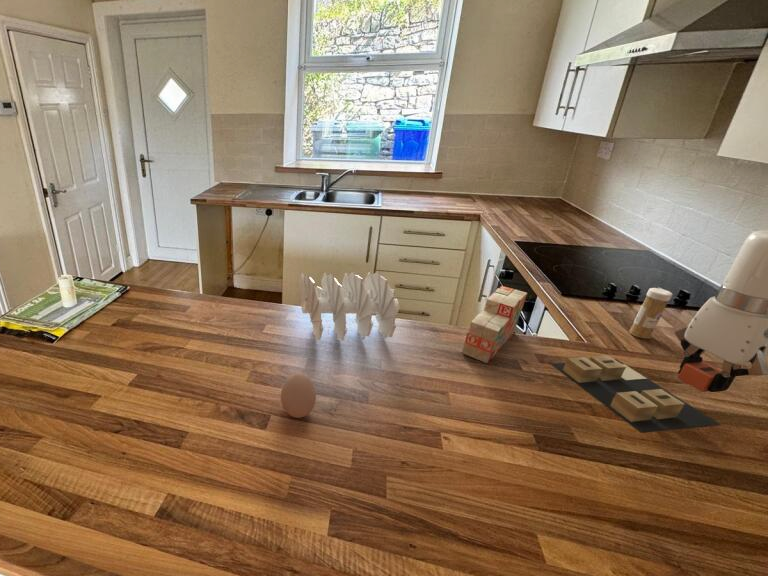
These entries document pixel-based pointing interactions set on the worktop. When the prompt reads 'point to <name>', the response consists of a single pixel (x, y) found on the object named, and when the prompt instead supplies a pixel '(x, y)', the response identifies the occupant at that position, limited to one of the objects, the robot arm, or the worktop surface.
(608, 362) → the word tiles
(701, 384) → the orange toy block
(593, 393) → the letter mat
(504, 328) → the stack of blocks
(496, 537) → the worktop surface
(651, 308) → the sprinkles bottle
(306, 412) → the egg
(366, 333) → the white pleated sculpture
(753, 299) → the robot arm
